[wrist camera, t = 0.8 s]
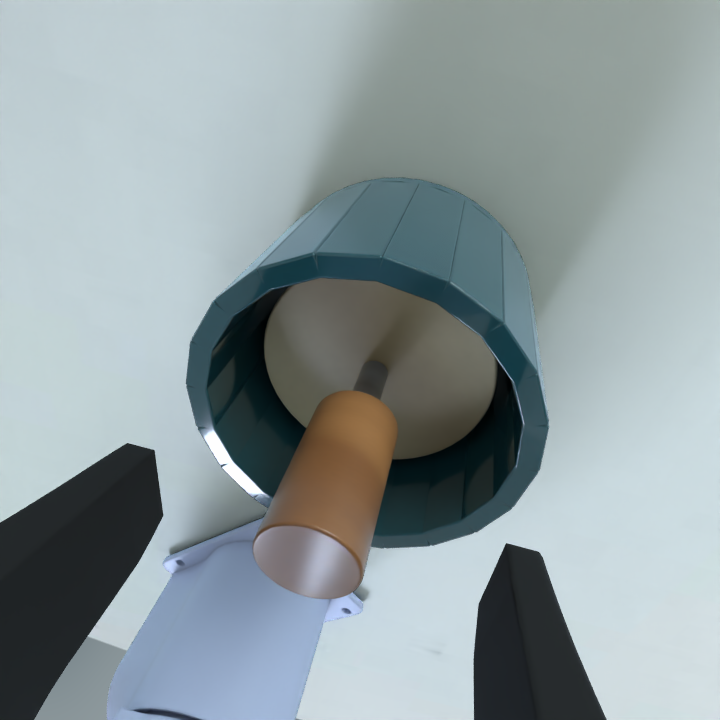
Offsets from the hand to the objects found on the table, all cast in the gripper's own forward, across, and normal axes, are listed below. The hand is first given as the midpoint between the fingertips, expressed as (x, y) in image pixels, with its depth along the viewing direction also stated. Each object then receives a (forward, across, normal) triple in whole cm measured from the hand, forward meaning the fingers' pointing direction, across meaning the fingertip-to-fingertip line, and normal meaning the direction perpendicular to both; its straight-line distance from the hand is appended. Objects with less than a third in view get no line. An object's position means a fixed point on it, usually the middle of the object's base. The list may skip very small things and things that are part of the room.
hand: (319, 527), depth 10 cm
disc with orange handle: (+8, 0, 0) cm, 8 cm away
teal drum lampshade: (+10, 0, 0) cm, 10 cm away
